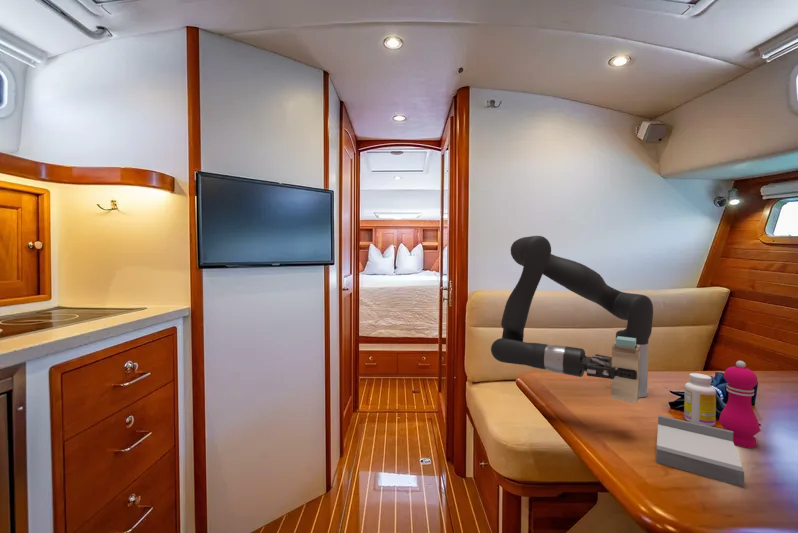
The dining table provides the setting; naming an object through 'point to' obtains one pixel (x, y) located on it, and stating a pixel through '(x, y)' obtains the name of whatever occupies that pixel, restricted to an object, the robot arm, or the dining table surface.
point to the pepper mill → (740, 405)
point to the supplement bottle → (700, 400)
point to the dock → (698, 450)
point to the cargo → (626, 342)
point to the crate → (624, 386)
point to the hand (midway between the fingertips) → (637, 371)
